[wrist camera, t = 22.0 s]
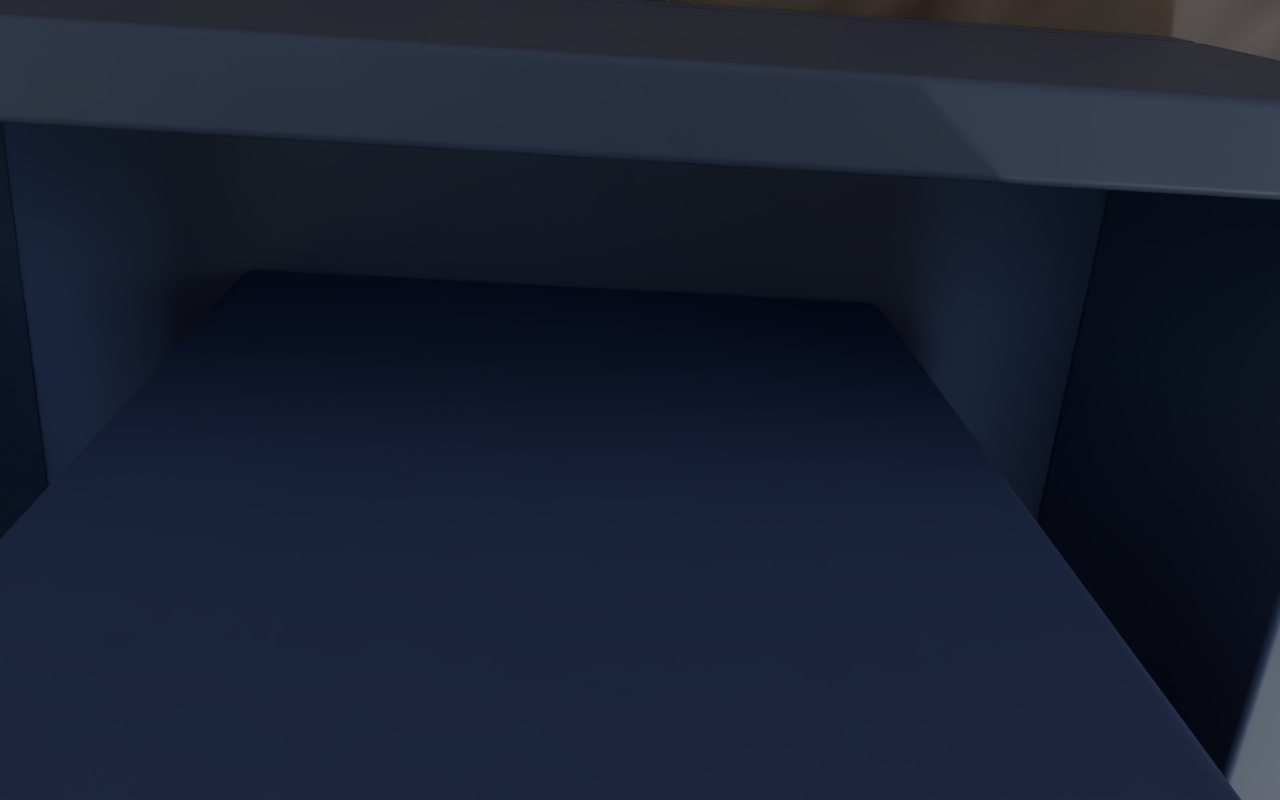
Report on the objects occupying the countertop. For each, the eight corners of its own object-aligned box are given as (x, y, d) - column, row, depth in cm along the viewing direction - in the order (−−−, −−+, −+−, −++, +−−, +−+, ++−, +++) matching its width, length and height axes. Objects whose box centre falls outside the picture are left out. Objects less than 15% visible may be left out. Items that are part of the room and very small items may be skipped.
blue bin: (-58, -49, 11) (-486, -19, 6) (1175, 36, 11) (1529, 116, 7) (79, 921, 15) (-125, 1331, 11) (970, 936, 16) (1116, 1326, 11)
